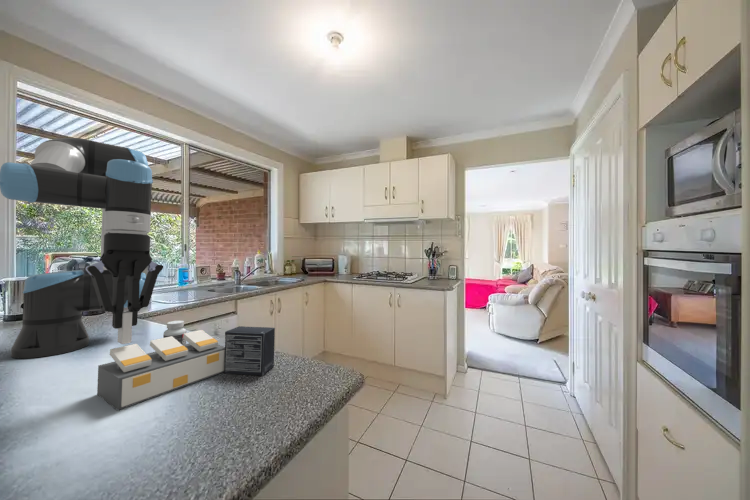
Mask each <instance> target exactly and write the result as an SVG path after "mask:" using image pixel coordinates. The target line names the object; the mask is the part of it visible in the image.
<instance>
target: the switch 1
mask: <svg viewBox="0 0 750 500" xmlns="http://www.w3.org/2000/svg"><path fill="white" fill-rule="evenodd" d="M109 355H110V357H111V358H112V360H114V361H113V362H116V363H117V364H118V366H119V367H120V368H121V369H122V371H123V372H127V371H131V370H135V369H138V368H142V367H146V366H149V365H151V362H152V359H151V358H150V356H149V355H148V353H146V352H145V351H144V350H143V349H142V348H141V347H140V345H139V344H138V343H134V344H129V345H123V346H118V347H115V348H111V349H110V350H109Z"/></svg>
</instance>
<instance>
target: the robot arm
mask: <svg viewBox="0 0 750 500" xmlns="http://www.w3.org/2000/svg"><path fill="white" fill-rule="evenodd" d="M153 183H154V180H153V171H152V168H151V167H150V166H149V162H148V159H147V155H145V154H144V153H143V152H142V151H139V150H135V149H133V148H129V147H124V146H120V145H115V144H110V143H104V142H100V141H94V140H90V139H87V138H80V137H79V138H78V137H59V138H52V139H49V140H45V141H43V142H42V143H40V144H39V145H37V146H36V148H35V150H34V158H33V160H32V161H31V162H30V163H29V164H28V163H23V162H22V163H18V162H10V161H9V162H4V163H2V165H1V167H0V193H1V196H3V197H4V198H6V199H8V200H12V201H13V200H14V201H20V202H21V201H23V202H27V203H30V204H32V203H36V204H37V203H38V204H49V205H61V206H72V207H82V208H93V209H102V211H101V213H102V214H101V235H100V237H101V238H100V243H101V244H100V258H99V261H98V262H94V263H93V264H91V265H85V266H84V270H83V269H76V270H62V271H54V272H46V273H45V272H44V273H38V274H34V275H30V276H28V277H27V278H26V279H25V281H24V286H23V291H22V294H23V306H22V307H23V308H22V327H21V328H20V331H19V332H18V335H17V337H16V338H15V341H14V342H13V344H12V346H11V348H10V349H11V350H10V357H11V358H13V359H14V358H15V359H34V358H41V357H42V358H43V357H50V356H55V355H60V354H65V353H70V352H74V351H78V350H81V349H82V348H85V347H87V346H88V345H89V343H90V336H89V334H88V332H87V329H86V328H85V325H84V323H83V313H84V312H91V311H93V312H94V311H95V312H96V311H102V312H103V311H104V312H107V313H111V314H112V321H111V322H112V323H111V325H112V327H113V328H112V329H115V330H117V343H119V344H121V345H126V344H129V343H132V338H133V337H132V336H133V334H132V333H133V327H135V326H137V324H138V318H139V317H138V315H139V314H138V313H139V311H140V310H141V309H143V308H148V307H149V304H150V301H151V298H152V295H153V292H154V290H155V289H154V288H155V285H156V282H157V279H158V276H159V275H160V273H161V272H162V270H163V269H164V265H162V264H158V263H156V262H155V261H153V258H152V256H151V254H150V250H151V236H150V235H149V233H150V232H151V223H152V222H151V220H152V211H151V209H152V193H153V192H152V191H153V189H152V188H153ZM146 269H147V271H148V272H147V274H146V273H145V272H144V271H145V270H146ZM84 271H85V272H86V273H87V274H86V273H85V272H84ZM126 308H127V310H125V309H126Z"/></svg>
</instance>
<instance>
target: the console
mask: <svg viewBox="0 0 750 500" xmlns="http://www.w3.org/2000/svg"><path fill="white" fill-rule="evenodd" d="M183 346H185V347H186V348H187V349H188V355H185V356H182V357H178V358H175V359H171V360H167V361H165V360H164V359H163V358H162V357H161V356H160V355H159V354H158V353H157V352H156V351H151V352H149V353H147V354H148V355H149V356H150V358H151V359H152V362H151V365H149V366H146V367H142V368H138V369H135V370H131V371H127V372H123V371H122V369H121V368H120V367H119V366H118V364H117V363H116V362H115V361H111V362H106V363H104V364H100V365H97V366H98V368H97V387H96V388H97V393H96V395H97V396H99V397H100V398H101V399H102V400H103V401H104V402H106V403H108V404H109V405H110V406H111V407H112V408H114V409H115V410H116V411H120V410H123V409H125V408H129V407H131V406H134V405H136V404H140V403H142V402H145V401H148V400H150V399H154V398H157V397H159V396H162V395H164V394H168V393H169V392H172V391H175V390H179V389H181V388H184V387H186V386H190V385H192V384H194V383H197V382H200V381H203V380H206V379H210V378H211V377H212V378H213V377H214V376H217V375H219V374H222V373H224V364H225V363H224V362H225V346H223V345H220V344H218V347H215V348H211V349H207V350H204V351H200V352H199V351H198V350H197V349H195V348H194V347H193V346H192V345H191V344H190V343H186V344H185V345H183Z"/></svg>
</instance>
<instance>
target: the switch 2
mask: <svg viewBox="0 0 750 500" xmlns="http://www.w3.org/2000/svg"><path fill="white" fill-rule="evenodd" d="M149 347H151V348H152V350H154V352H157V353H158V354H159V355H160V356H161V357H162V358H163V359H164V360H165V361H167V360H171V359H175V358H178V357H182V356H185V355H188V349H187V348H186V347H185V346H183V345H182V344H181V343H179V342H178V341H177V340H176V339H175V338H174V337H173V336H170V337H166V338H163V337H161V338H158V339H152V340H150V341H149Z"/></svg>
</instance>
